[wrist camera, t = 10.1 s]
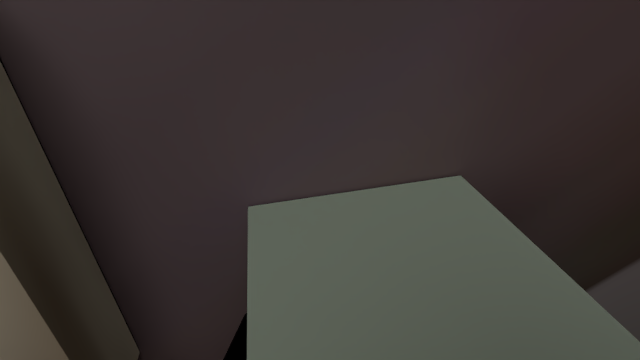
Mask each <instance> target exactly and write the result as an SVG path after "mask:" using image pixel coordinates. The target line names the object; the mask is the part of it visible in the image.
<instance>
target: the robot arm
mask: <svg viewBox="0 0 640 360" xmlns="http://www.w3.org/2000/svg"><path fill="white" fill-rule="evenodd" d="M223 360H247V313H246V314H245V315H244V317H243V319H242V321H241V323H240V326H239V328H238V330H237V332H236V334H235V336H234V338H233V340H232V342H231V344H230V346H229V349H228V351H227V353H226V355H225V357H224V359H223Z"/></svg>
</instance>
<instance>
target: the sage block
mask: <svg viewBox="0 0 640 360" xmlns="http://www.w3.org/2000/svg"><path fill="white" fill-rule="evenodd" d="M247 360H640V342H639V341H638V340H637V339H636V338H635V337H634V336H633V335H632V334H631V333H630V332H629V331H627V330H626V329H625V328H624V327H623V326H622V325H621V324H620V323H619V322H618V321H617V320H616V319H615V318H614V317H612V316H611V315H610V314H609V313H608V312H607V311H606V310H605V309H604V308H603V307H602V306H601V305H599V304H598V303H597V302H596V301H595V300H594V299H593V298H592V297H591V296H590V295H589V294H588V293H587V292H586V291H584V290H583V289H582V288H581V287H580V286H579V285H578V284H577V283H576V282H575V281H574V280H573V279H572V278H570V277H569V276H568V275H567V274H566V273H565V272H564V271H563V270H562V269H561V268H560V267H559V266H558V265H556V264H555V263H554V262H553V261H552V260H551V259H550V258H549V257H548V256H547V255H546V254H545V253H544V252H542V251H541V250H540V249H539V248H538V247H537V246H536V245H535V244H534V243H533V242H532V241H531V240H530V239H528V238H527V237H526V236H525V235H524V234H523V233H522V232H521V231H520V230H519V229H518V228H517V227H516V226H514V225H513V224H512V223H511V222H510V221H509V220H508V219H507V218H506V217H505V216H504V215H503V214H501V213H500V212H499V211H498V210H497V209H496V208H495V207H494V206H493V205H492V204H491V203H490V202H489V201H487V200H486V199H485V198H484V197H483V196H482V195H481V194H480V193H479V192H478V191H477V190H476V189H475V188H473V187H472V186H471V185H470V184H469V183H468V182H467V181H466V180H465V179H464V178H463V177H462V176H454V177H447V178H440V179H434V180H427V181H420V182H413V183H406V184H400V185H393V186H386V187H379V188H372V189H366V190H359V191H352V192H345V193H338V194H332V195H325V196H318V197H311V198H304V199H298V200H291V201H284V202H277V203H271V204H264V205H257V206H250V207H248V277H247Z"/></svg>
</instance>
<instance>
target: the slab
mask: <svg viewBox="0 0 640 360" xmlns="http://www.w3.org/2000/svg"><path fill="white" fill-rule="evenodd" d="M139 353H140V352H139V349H138V347H137V345H136V343H135V341H134V339H133V337H132V335H131V333H130V331H129V329H128V327H127V324H126V322H125V320H124V318H123V316H122V314H121V312H120V310H119V308H118V306H117V304H116V301H115V299H114V297H113V295H112V293H111V291H110V289H109V287H108V285H107V283H106V281H105V279H104V276H103V274H102V272H101V270H100V268H99V266H98V264H97V262H96V260H95V258H94V256H93V254H92V251H91V249H90V247H89V245H88V243H87V241H86V239H85V237H84V235H83V233H82V231H81V228H80V226H79V224H78V222H77V220H76V218H75V216H74V214H73V212H72V210H71V208H70V206H69V203H68V201H67V199H66V197H65V195H64V193H63V191H62V189H61V187H60V185H59V183H58V181H57V178H56V176H55V174H54V172H53V170H52V168H51V166H50V164H49V162H48V160H47V158H46V155H45V153H44V151H43V149H42V147H41V145H40V143H39V141H38V139H37V137H36V135H35V133H34V130H33V128H32V126H31V124H30V122H29V120H28V118H27V116H26V114H25V112H24V110H23V108H22V105H21V103H20V101H19V99H18V97H17V95H16V93H15V91H14V89H13V87H12V85H11V83H10V80H9V78H8V76H7V74H6V72H5V70H4V68H3V66H2V64H1V62H0V360H138V357H139Z"/></svg>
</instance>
